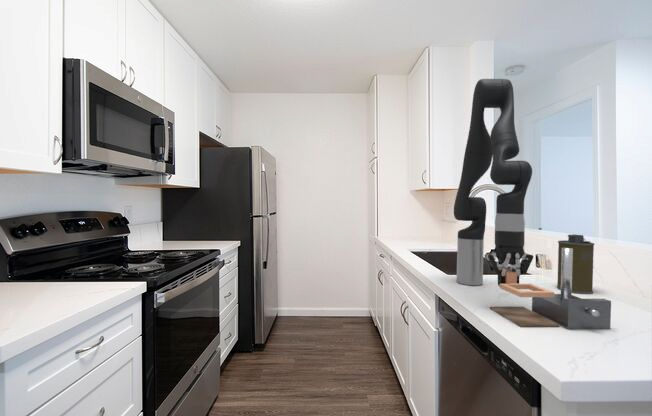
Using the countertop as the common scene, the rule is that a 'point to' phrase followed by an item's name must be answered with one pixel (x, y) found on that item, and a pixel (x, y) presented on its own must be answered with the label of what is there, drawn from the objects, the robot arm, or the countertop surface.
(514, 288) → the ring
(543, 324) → the board
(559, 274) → the canister
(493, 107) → the robot arm
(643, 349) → the countertop surface
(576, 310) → the block
